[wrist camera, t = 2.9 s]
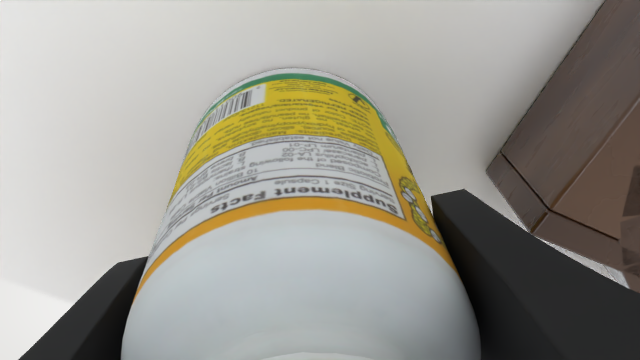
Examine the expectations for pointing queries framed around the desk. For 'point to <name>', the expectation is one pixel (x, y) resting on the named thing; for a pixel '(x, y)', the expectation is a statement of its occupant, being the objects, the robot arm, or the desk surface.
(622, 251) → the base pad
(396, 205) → the supplement bottle
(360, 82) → the desk surface
